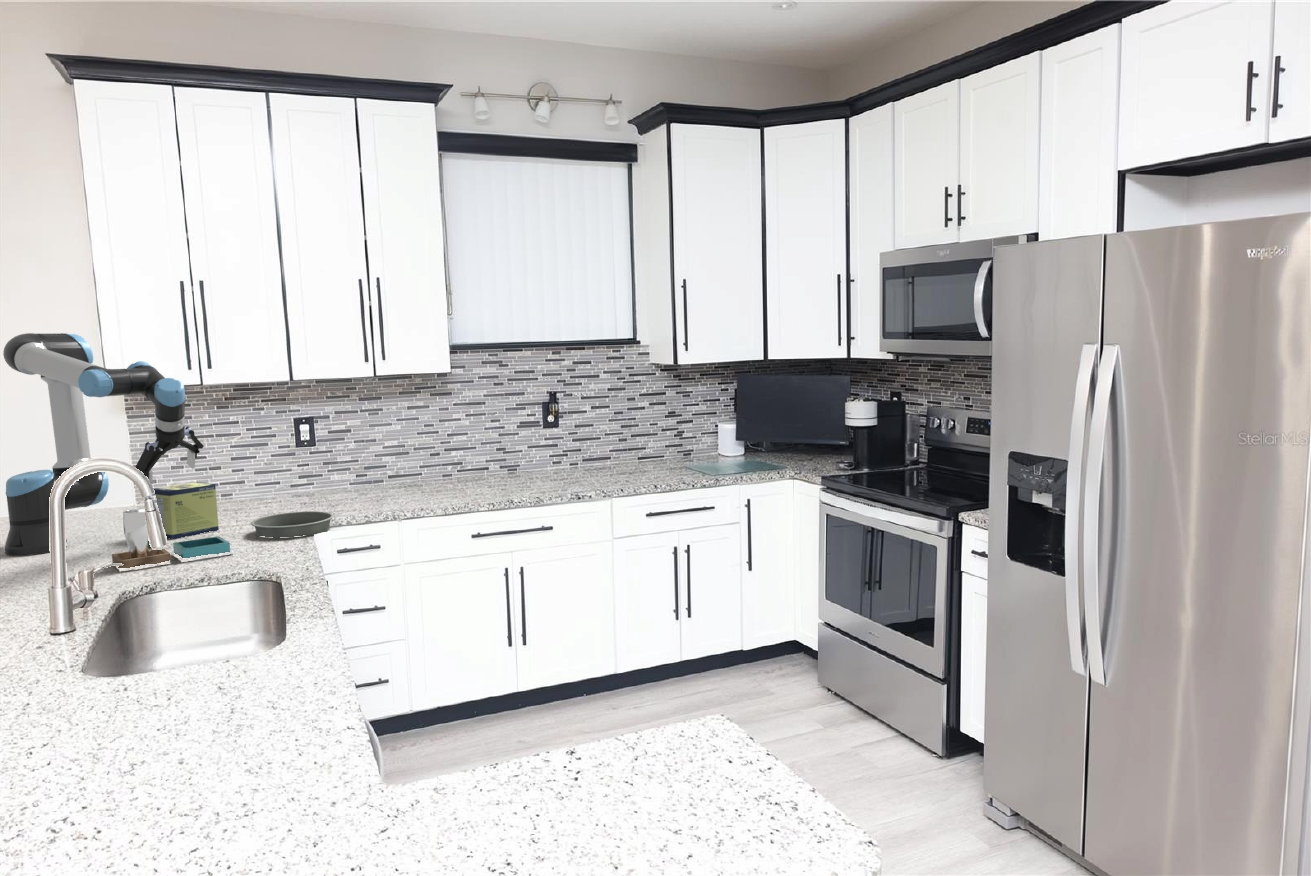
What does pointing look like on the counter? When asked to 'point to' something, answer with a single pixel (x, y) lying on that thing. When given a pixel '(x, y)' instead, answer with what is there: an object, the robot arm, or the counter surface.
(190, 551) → the teal shallow tray
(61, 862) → the counter surface
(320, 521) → the cake pan
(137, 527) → the beer glass
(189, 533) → the protein box
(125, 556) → the brown square tray
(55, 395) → the robot arm
